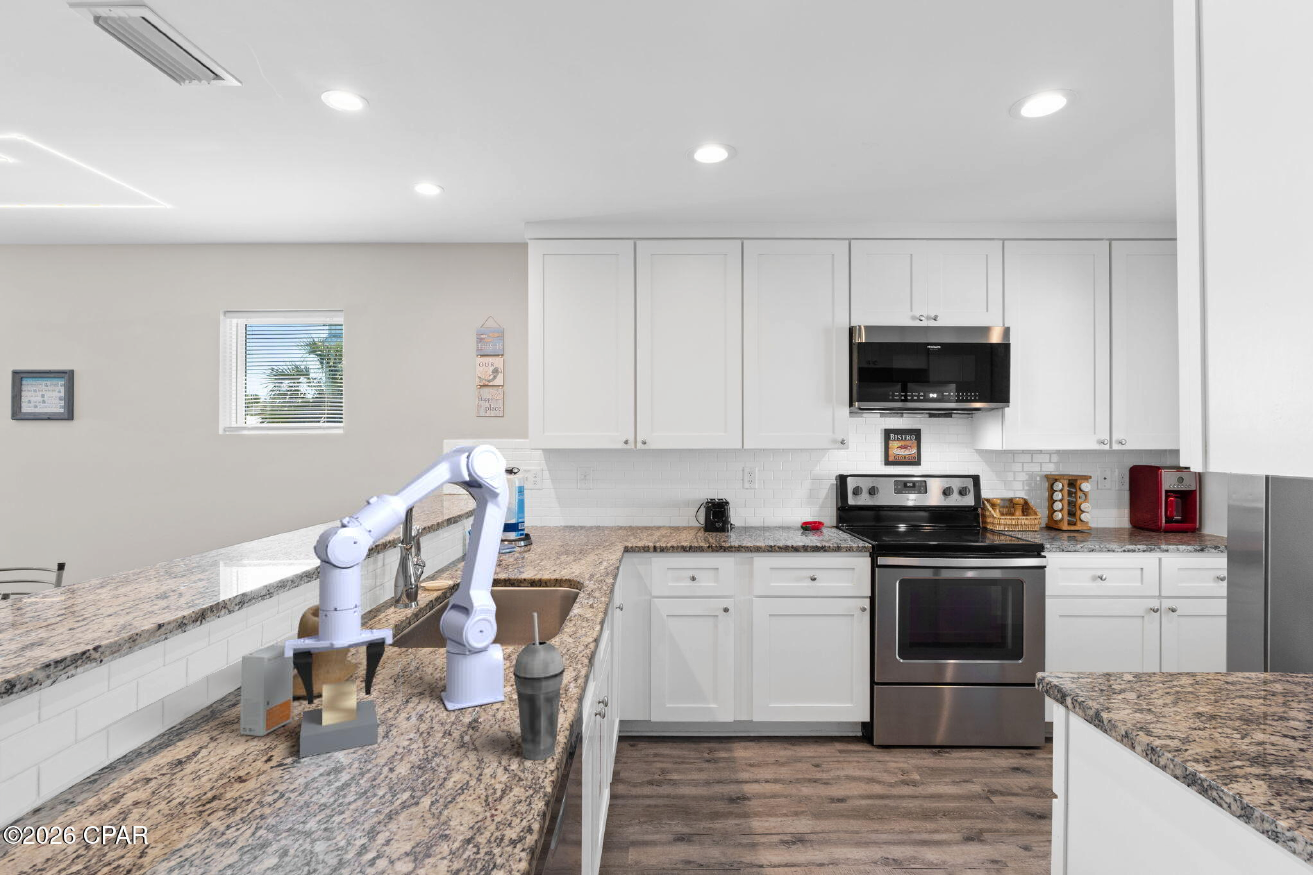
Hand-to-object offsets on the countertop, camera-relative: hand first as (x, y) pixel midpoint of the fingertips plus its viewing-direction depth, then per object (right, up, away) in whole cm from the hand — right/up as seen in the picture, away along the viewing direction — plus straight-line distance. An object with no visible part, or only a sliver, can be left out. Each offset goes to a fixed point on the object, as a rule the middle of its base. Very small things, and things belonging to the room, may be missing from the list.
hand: (339, 697), depth 96 cm
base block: (0, -6, 0) cm, 6 cm away
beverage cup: (+31, -6, -6) cm, 32 cm away
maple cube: (0, -3, 0) cm, 3 cm away
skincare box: (-13, -6, +3) cm, 15 cm away
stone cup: (-13, -7, +21) cm, 26 cm away
